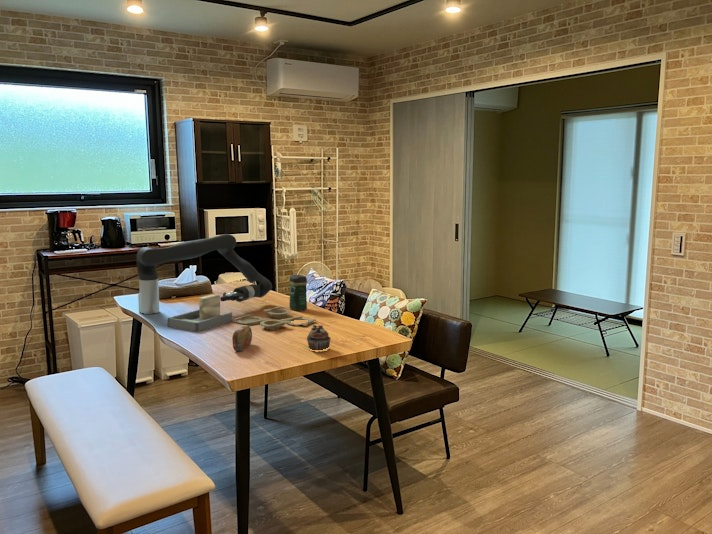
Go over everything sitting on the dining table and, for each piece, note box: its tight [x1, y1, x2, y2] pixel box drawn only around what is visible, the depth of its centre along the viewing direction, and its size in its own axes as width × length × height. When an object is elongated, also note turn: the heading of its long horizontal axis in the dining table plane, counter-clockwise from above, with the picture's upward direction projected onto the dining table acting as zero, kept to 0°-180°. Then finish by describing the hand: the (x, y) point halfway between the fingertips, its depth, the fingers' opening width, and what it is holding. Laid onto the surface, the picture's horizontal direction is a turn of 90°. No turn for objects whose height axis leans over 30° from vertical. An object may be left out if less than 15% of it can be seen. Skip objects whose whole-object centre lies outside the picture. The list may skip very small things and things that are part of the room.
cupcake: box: [306, 324, 332, 350], centre depth 233 cm, size 10×10×10 cm
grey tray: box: [167, 309, 233, 333], centre depth 272 cm, size 18×24×4 cm
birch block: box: [198, 294, 221, 319], centre depth 277 cm, size 4×10×10 cm, turn 152°
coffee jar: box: [288, 274, 308, 312], centre depth 305 cm, size 10×8×19 cm
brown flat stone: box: [232, 325, 253, 352], centre depth 234 cm, size 15×3×8 cm, turn 168°
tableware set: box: [233, 305, 317, 331], centre depth 278 cm, size 35×29×4 cm
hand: (221, 299), depth 284 cm, fingers closed
